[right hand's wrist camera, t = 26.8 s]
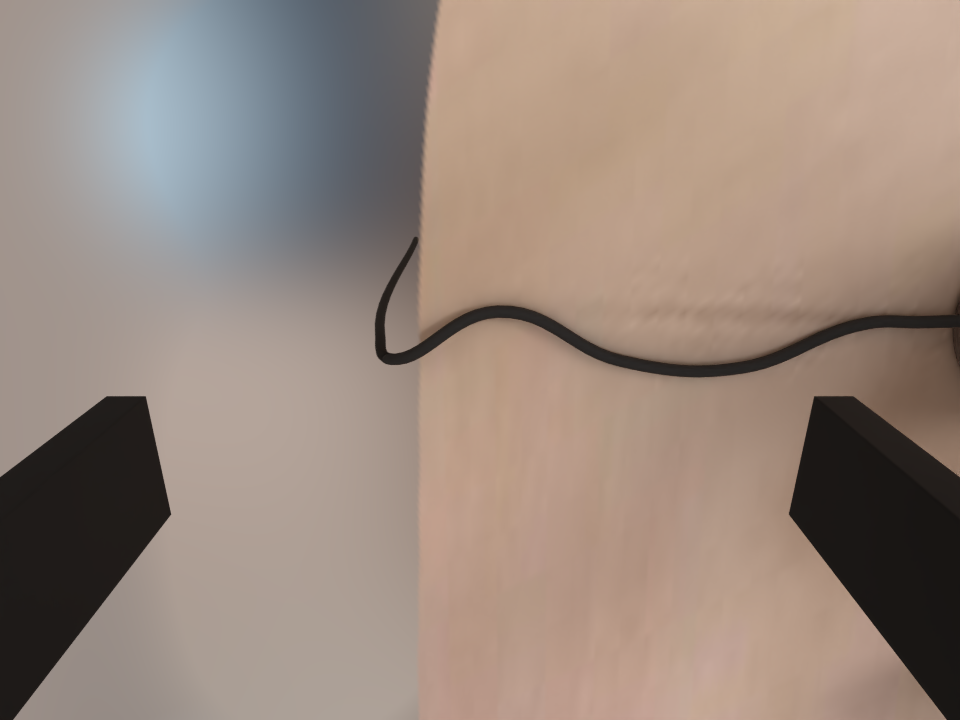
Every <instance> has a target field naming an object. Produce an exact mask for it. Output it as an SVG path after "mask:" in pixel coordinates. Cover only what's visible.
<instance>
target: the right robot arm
mask: <svg viewBox="0 0 960 720" xmlns="http://www.w3.org/2000/svg"><path fill="white" fill-rule="evenodd" d="M418 241H419V238H418V237H414V238H413V240H412V243H411V245H410V247H409V248H408V250H407V252H406V254H405V255H404V257H403V259H402V260H401V262H400V264H399V265H398V267H397V268H396V270H395V272H394V273H393V275H392V277H391V279H390V281H389V282H388V284H387V286H386V288H385V290H384V292H383V294H382V297H381V299H380V302H379V305H378V308H377V312H376V318H375V350H376V355H377V357H378V358H379V359H380V360H381V361H382V362H383V363H385V364H389V365H401V364H406V363H409V362H412V361H414V360H416V359H418V358H420V357H422V356H424V355H425V354H427V353H428V352H430V351H431V350H433V349H434V348H436V347H437V346H438V345H440V344H441V343H442V342H444V341H445V340H447V339H448V338H449V337H451V336H452V335H454V334H455V333H457V332H458V331H460V330H461V329H463V328H465V327H467V326H469V325H471V324H473V323H476V322H478V321H482V320H486V319H491V318H513V319H519V320H523V321H526V322H530V323H533V324H535V325H537V326H540V327H542V328H544V329H545V330H547V331H549V332H551V333H553V334H554V335H556V336H558V337H559V338H561V339H562V340H564V341H566V342H567V343H569V344H570V345H572V346H574V347H575V348H577V349H578V350H580V351H582V352H584V353H585V354H587V355H589V356H591V357H593V358H596V359H598V360H600V361H603V362H606V363H608V364H612V365H615V366H619V367H623V368H628V369H633V370H638V371H643V372H648V373H654V374H661V375H669V376H679V377H716V376H727V375H736V374H743V373H748V372H754V371H758V370H761V369H765V368H768V367H771V366H774V365H777V364H779V363H782V362H784V361H787V360H789V359H791V358H793V357H796V356H798V355H800V354H802V353H804V352H806V351H808V350H810V349H812V348H815V347H817V346H819V345H821V344H823V343H826V342H828V341H830V340H833V339H835V338H838V337H841V336H844V335H847V334H851V333H854V332H858V331H863V330H867V329H873V328H886V327H891V328H952V327H954V329H953V341H954V349H955V353H956V357H957V361H958V363H959V366H960V300H959V303H958V306H957V310H956V315H941V316H898V315H883V316H872V317H866V318H861V319H857V320H852V321H849V322H845V323H842V324H839V325H836V326H834V327H831V328H828V329H826V330H823V331H821V332H819V333H816V334H814V335H812V336H810V337H808V338H806V339H804V340H802V341H800V342H797V343H795V344H793V345H791V346H789V347H787V348H785V349H782V350H780V351H778V352H775V353H773V354H770V355H767V356H764V357H761V358H757V359H753V360H749V361H743V362H737V363H730V364H720V365H702V366H694V365H676V364H667V363H660V362H653V361H648V360H643V359H638V358H633V357H628V356H623V355H620V354H616V353H612V352H610V351H607V350H605V349H602V348H600V347H598V346H596V345H594V344H592V343H590V342H588V341H586V340H585V339H583V338H581V337H580V336H578V335H577V334H575V333H573V332H572V331H570V330H569V329H567V328H566V327H564V326H562V325H561V324H559V323H557V322H556V321H554V320H552V319H550V318H548V317H547V316H544V315H542V314H540V313H537V312H535V311H532V310H528V309H525V308H520V307H514V306H489V307H484V308H480V309H476V310H473V311H471V312H468V313H466V314H464V315H462V316H460V317H458V318H456V319H455V320H453V321H451V322H450V323H448V324H447V325H445V326H444V327H442V328H441V329H440V330H438V331H437V332H436V333H434V334H433V335H431V336H430V337H429V338H427V339H426V340H424V341H423V342H422V343H420V344H418V345H417V346H415V347H413V348H412V349H410V350H407V351H405V352H402V353H397V354H392V353H389V352H387V349H386V337H385V316H386V311H387V307H388V303H389V300H390V297H391V295H392V293H393V290H394V288H395V286H396V284H397V282H398V280H399V278H400V276H401V274H402V272H403V271H404V269H405V267H406V265H407V263H408V262H409V260H410V258H411V256H412V254H413V252H414V250H415V248H416V246H417V244H418ZM170 515H171V512H170V507H169V502H168V498H167V493H166V488H165V484H164V479H163V474H162V470H161V465H160V461H159V456H158V451H157V447H156V442H155V437H154V433H153V428H152V423H151V419H150V414H149V409H148V405H147V400H146V397H145V396H107V397H105V398H104V399H103V400H101V401H100V402H99V403H97V404H96V405H95V406H93V407H92V408H91V409H89V410H88V411H87V412H86V413H84V414H83V415H82V416H80V417H79V418H78V419H76V420H75V421H74V422H72V423H71V424H70V425H68V426H67V427H66V428H64V429H63V430H62V431H60V432H59V433H58V434H57V435H55V436H54V437H53V438H51V439H50V440H49V441H47V442H46V443H45V444H43V445H42V446H41V447H39V448H38V449H37V450H35V451H34V452H33V453H32V454H30V455H29V456H28V457H26V458H25V459H24V460H22V461H21V462H20V463H18V464H17V465H16V466H14V467H13V468H12V469H10V470H9V471H8V472H7V473H5V474H4V475H3V476H1V477H0V720H13V719H14V718H15V717H16V715H17V714H18V713H19V711H20V710H21V709H22V707H23V706H24V705H25V704H26V702H27V701H28V700H29V698H30V697H31V696H32V694H33V693H34V692H35V691H36V689H37V688H38V687H39V685H40V684H41V683H42V681H43V680H44V679H45V677H46V676H47V675H48V674H49V672H50V671H51V670H52V668H53V667H54V666H55V665H56V663H57V662H58V661H59V659H60V658H61V657H62V655H63V654H64V653H65V651H66V650H67V649H68V648H69V646H70V645H71V644H72V642H73V641H74V640H75V638H76V637H77V636H78V635H79V633H80V632H81V631H82V629H83V628H84V627H85V626H86V624H87V623H88V622H89V620H90V619H91V618H92V616H93V615H94V614H95V613H96V611H97V610H98V609H99V607H100V606H101V605H102V603H103V602H104V601H105V600H106V598H107V597H108V596H109V594H110V593H111V592H112V591H113V589H114V588H115V587H116V585H117V584H118V583H119V581H120V580H121V579H122V577H123V576H124V575H125V574H126V572H127V571H128V570H129V568H130V567H131V566H132V565H133V563H134V562H135V561H136V559H137V558H138V557H139V555H140V554H141V553H142V552H143V550H144V549H145V548H146V546H147V545H148V544H149V542H150V541H151V540H152V539H153V537H154V536H155V535H156V533H157V532H158V531H159V529H160V528H161V527H162V526H163V524H164V523H165V522H166V520H167V519H168V518H169V516H170ZM789 515H790V516H791V518H792V519H793V520H794V522H795V523H796V524H797V526H798V527H799V528H800V529H801V531H802V532H803V533H804V535H805V536H806V537H807V539H808V540H809V541H810V542H811V544H812V545H813V546H814V548H815V549H816V550H817V552H818V553H819V554H820V555H821V557H822V558H823V559H824V561H825V562H826V563H827V565H828V566H829V567H830V568H831V570H832V571H833V572H834V574H835V575H836V576H837V578H838V579H839V580H840V581H841V583H842V584H843V585H844V587H845V588H846V589H847V591H848V592H849V593H850V594H851V596H852V597H853V598H854V600H855V601H856V602H857V604H858V605H859V606H860V607H861V609H862V610H863V611H864V613H865V614H866V615H867V616H868V618H869V619H870V620H871V622H872V623H873V624H874V626H875V627H876V628H877V629H878V631H879V632H880V633H881V635H882V636H883V637H884V639H885V640H886V641H887V642H888V644H889V645H890V646H891V648H892V649H893V650H894V652H895V653H896V654H897V655H898V657H899V658H900V659H901V661H902V662H903V663H904V665H905V666H906V667H907V668H908V670H909V671H910V672H911V674H912V675H913V676H914V678H915V679H916V680H917V681H918V683H919V684H920V685H921V687H922V688H923V689H924V691H925V692H926V693H927V694H928V696H929V697H930V698H931V700H932V701H933V702H934V704H935V705H936V706H937V707H938V709H939V710H940V711H941V713H942V714H943V715H944V717H945V718H946V719H947V720H960V477H959V476H957V475H956V474H955V473H954V472H952V471H951V470H950V469H948V468H947V467H946V466H944V465H943V464H942V463H940V462H939V461H938V460H936V459H935V458H934V457H932V456H931V455H930V454H929V453H927V452H926V451H925V450H923V449H922V448H921V447H919V446H918V445H917V444H915V443H914V442H913V441H911V440H910V439H909V438H907V437H906V436H905V435H903V434H902V433H901V432H900V431H898V430H897V429H896V428H894V427H893V426H892V425H890V424H889V423H888V422H886V421H885V420H884V419H882V418H881V417H880V416H878V415H877V414H876V413H875V412H873V411H872V410H871V409H869V408H868V407H867V406H865V405H864V404H863V403H861V402H860V401H859V400H857V399H856V398H855V397H853V396H814V400H813V405H812V409H811V414H810V419H809V423H808V428H807V433H806V437H805V442H804V447H803V451H802V456H801V461H800V465H799V470H798V474H797V479H796V484H795V488H794V493H793V498H792V502H791V507H790V512H789Z"/></svg>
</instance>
